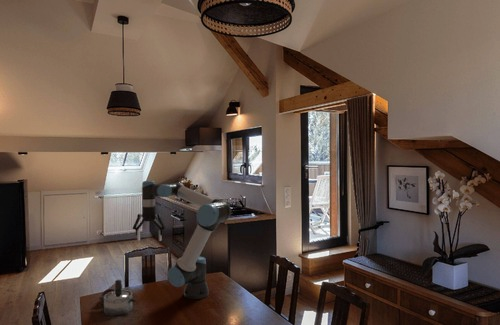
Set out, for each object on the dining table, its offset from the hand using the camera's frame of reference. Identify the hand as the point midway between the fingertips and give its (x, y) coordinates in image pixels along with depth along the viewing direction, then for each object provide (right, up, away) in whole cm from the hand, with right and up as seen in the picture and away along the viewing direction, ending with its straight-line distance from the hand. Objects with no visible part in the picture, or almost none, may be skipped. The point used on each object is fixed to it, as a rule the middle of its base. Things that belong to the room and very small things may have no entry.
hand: (149, 240), depth 211 cm
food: (-19, -33, -5) cm, 39 cm away
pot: (-11, -33, -21) cm, 41 cm away
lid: (-11, -26, -21) cm, 35 cm away
